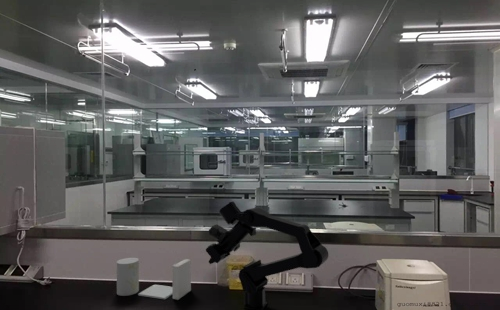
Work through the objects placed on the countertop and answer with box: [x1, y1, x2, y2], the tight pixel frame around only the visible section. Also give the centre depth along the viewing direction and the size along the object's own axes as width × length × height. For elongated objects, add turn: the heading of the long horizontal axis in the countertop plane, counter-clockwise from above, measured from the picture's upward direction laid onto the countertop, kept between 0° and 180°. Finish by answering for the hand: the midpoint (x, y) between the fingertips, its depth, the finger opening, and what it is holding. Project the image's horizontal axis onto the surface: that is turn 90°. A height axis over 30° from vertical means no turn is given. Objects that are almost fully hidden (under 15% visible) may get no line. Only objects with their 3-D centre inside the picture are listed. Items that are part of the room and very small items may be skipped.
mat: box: [137, 284, 173, 300], centre depth 124 cm, size 12×10×1 cm
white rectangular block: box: [171, 258, 192, 301], centre depth 122 cm, size 3×9×12 cm, turn 160°
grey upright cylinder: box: [116, 257, 140, 297], centre depth 126 cm, size 8×8×12 cm
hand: (209, 262), depth 118 cm, fingers closed
